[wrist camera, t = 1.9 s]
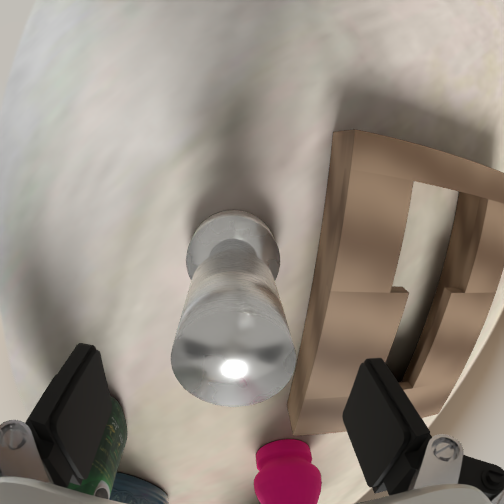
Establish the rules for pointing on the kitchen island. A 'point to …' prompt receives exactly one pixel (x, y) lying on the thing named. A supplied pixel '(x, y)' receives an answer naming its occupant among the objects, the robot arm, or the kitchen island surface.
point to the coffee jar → (106, 456)
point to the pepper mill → (286, 474)
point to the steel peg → (233, 315)
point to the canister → (136, 491)
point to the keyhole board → (382, 275)
